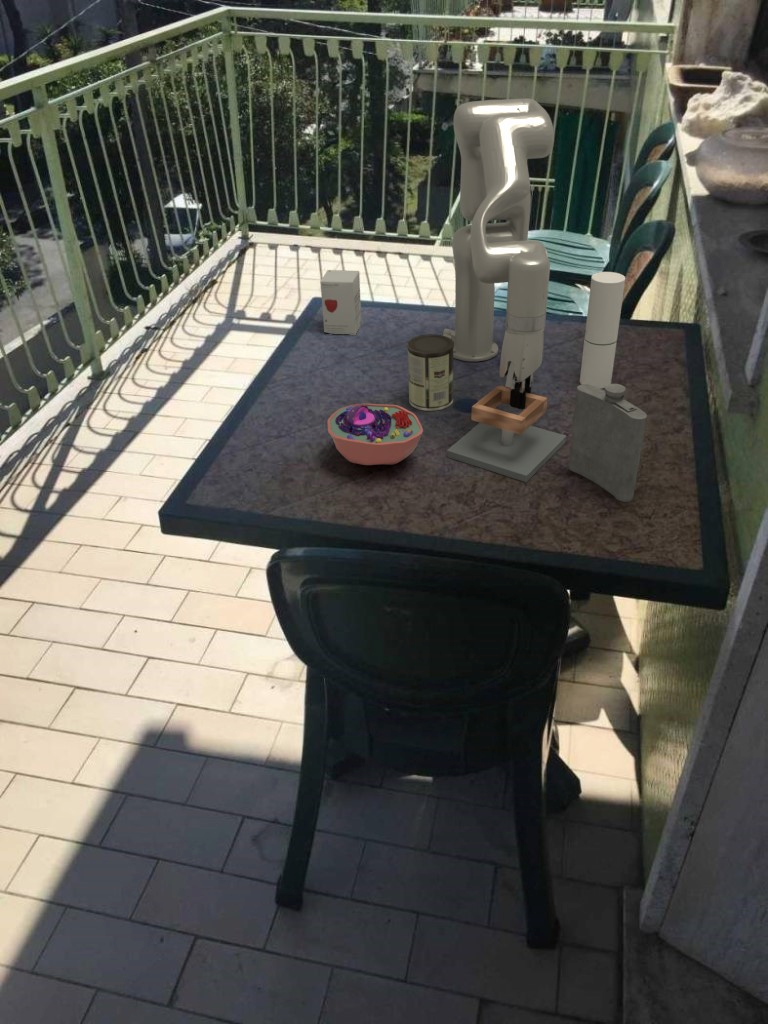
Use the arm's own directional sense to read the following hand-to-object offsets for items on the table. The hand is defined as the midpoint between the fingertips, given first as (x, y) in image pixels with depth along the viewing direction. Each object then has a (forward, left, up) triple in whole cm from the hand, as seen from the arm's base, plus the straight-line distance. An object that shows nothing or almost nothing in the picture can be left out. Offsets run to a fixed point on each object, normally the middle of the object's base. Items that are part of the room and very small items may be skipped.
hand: (519, 405), depth 166 cm
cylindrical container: (+3, +33, -8) cm, 34 cm away
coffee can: (-25, +5, -8) cm, 27 cm away
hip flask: (+21, -6, -8) cm, 23 cm away
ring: (0, -5, 0) cm, 5 cm away
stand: (0, -5, -8) cm, 9 cm away
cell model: (-21, -22, -8) cm, 31 cm away
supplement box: (-68, +28, -8) cm, 74 cm away
